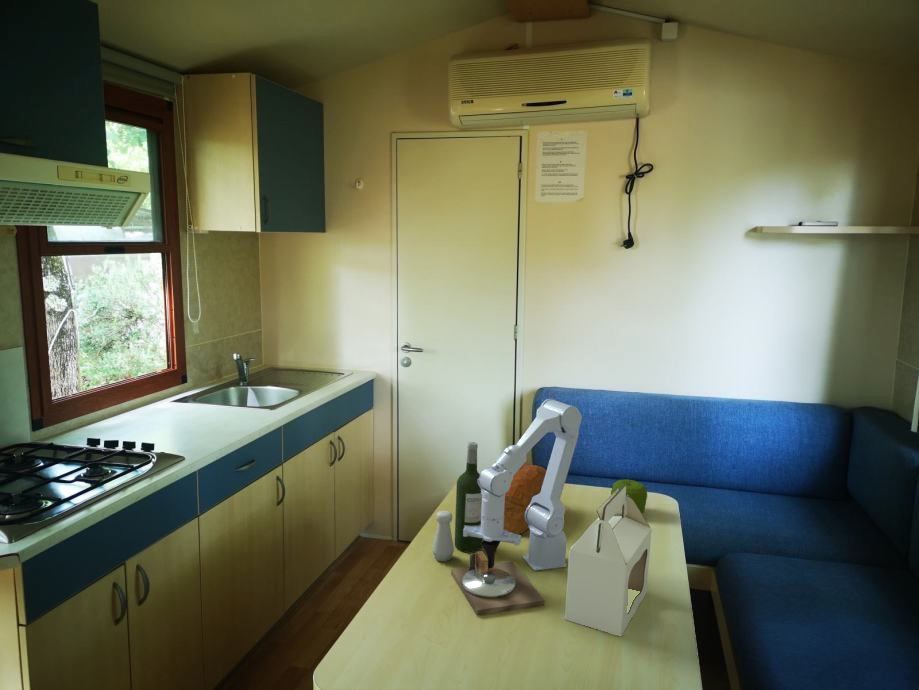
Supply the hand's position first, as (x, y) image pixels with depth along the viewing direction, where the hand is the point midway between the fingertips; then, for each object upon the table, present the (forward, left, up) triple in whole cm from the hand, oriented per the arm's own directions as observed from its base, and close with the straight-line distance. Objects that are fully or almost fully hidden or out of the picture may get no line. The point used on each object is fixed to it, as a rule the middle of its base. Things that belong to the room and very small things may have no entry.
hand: (490, 566), depth 177 cm
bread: (-22, -35, -4) cm, 41 cm away
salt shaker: (+8, -14, -4) cm, 17 cm away
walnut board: (0, +5, -4) cm, 6 cm away
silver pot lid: (+2, +4, -2) cm, 5 cm away
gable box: (-23, +19, -4) cm, 30 cm away
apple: (-58, -29, -4) cm, 65 cm away
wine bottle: (-1, -19, -4) cm, 19 cm away
